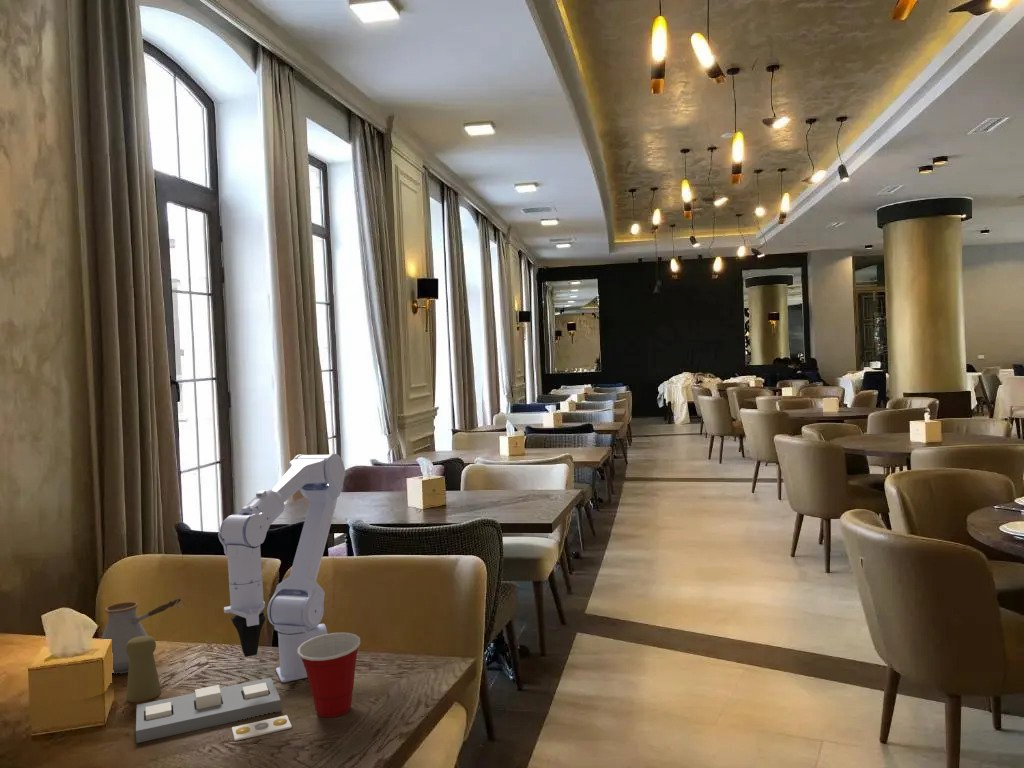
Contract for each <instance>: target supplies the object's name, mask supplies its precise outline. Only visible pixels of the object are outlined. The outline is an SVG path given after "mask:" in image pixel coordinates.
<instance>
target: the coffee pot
mask: <svg viewBox="0 0 1024 768" xmlns="http://www.w3.org/2000/svg"><path fill="white" fill-rule="evenodd" d="M180 602H182V603H183V606H182V607H179V606H178V603H180ZM139 605H140V604H139V603H138V602H136V601H128V602H127V601H125V602H119V603H115V604H112V605H108V606H106V607H104V612H105V613H106V614H107V617H108V620H107V622H106V625H105V627H104V630H103V633H102V635H101V637H100V640H101V639H112V653H113V670H114V674H113V675H118V674H117V673H120V674H126V673H128V669H129V656H128V655H127V653H126V644H127V642H128V641H129V640H131V639H132V638H135V637H139V636H149V635H148V633H147V632H146V630H145V628H144V626H143V624H142V623H141V621H144V620H145V619H147V618H149V617H151V616H154V615H157V614H159V613H162V612H164V611H166V610H167V609H168V608H172V607H174V606H175V607H176V608H177V609H181V610H182V609H183V608H184V607H185V601H184V599H181V598H176V599H174V600H170V601H168V602H167V603H163V604H161V605H159V606H157V607H156V608H154V609H152V610H150V611H148V612H147V613H145V614H141V615H140V616H137V608H138V607H139ZM115 673H116V674H115Z"/></svg>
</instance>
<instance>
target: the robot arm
mask: <svg viewBox="0 0 1024 768" xmlns="http://www.w3.org/2000/svg"><path fill="white" fill-rule="evenodd" d="M343 461H344V460H343V459H342V458H341V456H340V455H339V454H337V453H331V454H303V453H302V454H301V453H300V454H297V455H295V456H294V457H293V459H292V460H289V463H288V469H287V471H286V472H285V473H284V474H283V475H282V477H281V478H280V479H279V480H278V481H277V483H275V484H274V486H273V487H272V488H271V489H263V490H258V491H257V492H256V493H255V497H253V499H251V500H250V501H249V502H248V503H247V504H246V505H244V506H242V508H241V510H239V512H237V514H231V515H228V516H227V517H226V518H225V519H224V520H223V521H222V522H221V524H220V528H219V532H218V534H217V537H218V540H219V542H220V543H221V545H222V547H223V552H224V554H225V556H226V557H227V570H228V585H229V589H228V590H229V601H230V602H229V603H230V605H229V606H224V607H223V612H224V614H232V615H233V616H231V617H230V620H231V622H232V624H233V627H235V629H236V632H237V633H238V638H239V642H240V646H241V649H242V654H243V655H244V657H245V658H246V657H247V658H248V657H252V656H257V654H258V649H259V643H260V637H261V633H262V632H261V631H262V629H263V627H264V624H265V621H266V616H267V619H268V621H269V624H271V625H272V626H273V627H274V631H276V632H277V638H278V639H277V640H278V658H279V659H278V660H279V667H276V668H275V671H276V673H277V676H278V678H279V680H280V682H281V683H288V682H292V681H297V680H303V679H308V677H307V673H306V669H305V667H304V663H303V662H302V659H301V657H300V656H299V655H298V653H297V652H298V647H299V646H300V645H301V644H302V643H304V642H306V641H308V640H309V639H311V638H314V637H317V636H320V635H324V634H328V630H327V626H326V624H325V623H321V621H322V619H323V616H324V611H325V606H324V605H325V603H324V601H325V596H326V593H325V591H324V588H322V586H321V585H320V584H319V583H318V582H317V579H318V576H319V571H320V567H321V564H322V560H323V556H324V552H325V549H326V545H327V541H328V536H329V534H330V529H331V525H332V522H333V518H334V513H335V509H336V506H337V503H338V502H337V501H338V498H339V497H340V495H341V492H342V487H343V484H344V480H345V477H346V473H347V472H346V471H347V470H346V468H345V465H344V462H343ZM298 491H299V492H300V493H301V495H302V496H303V497H304V498H306V499H307V500H308V503H309V504H308V508H307V512H306V516H305V520H304V522H303V526H302V530H301V533H300V537H299V541H298V545H297V547H296V552H295V555H294V558H293V562H292V566H291V570H290V574H289V575H288V577H286V578H285V579H283V580H282V581H281V582H280V583H278V584H277V585H276V587H275V590H274V593H273V595H272V597H271V598H270V600H269V601H268V605H267V608H266V614H267V615H265V613H264V611H263V610H264V609H265V607H266V602H265V601H264V587H263V585H264V584H263V572H262V571H263V569H262V555H261V552H262V551H261V544H263V543H264V542H265V539H266V537H267V532H268V531H269V529H270V526H271V525H272V524H273V523H274V522H275V521H276V519H277V518H279V517H280V515H281V514H283V512H284V511H285V509H286V508H285V502H286V501H288V500H289V499H290V498H291V497H293V496H294V495H295V494H296V493H297V492H298Z"/></svg>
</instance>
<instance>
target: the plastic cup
mask: <svg viewBox="0 0 1024 768" xmlns="http://www.w3.org/2000/svg"><path fill="white" fill-rule="evenodd" d="M360 645H361V637H360V636H359V635H357V634H355V633H351V632H331V633H327V634H324V635H320V636H317V637H314V638H311V639H309V640H308V641H306V642H304V643H302V644H301V645H300V646H299V647H298V652H297V653H298V655H299V656H300V657H301V659H302V662H303V663H304V667H305V669H306V673H307V680H308V685H309V689H310V692H311V697H312V698H313V699H312V700H313V705H314V709H315V711H316V714H317V715H318V716H319V717H321V718H334V717H335V718H336V717H340V716H343V715H345V714H347V713H348V712H350V710H351V706H352V701H353V700H352V698H353V691H354V684H355V674H356V673H355V672H356V662H357V659H358V658H357V657H358V650H359V646H360Z"/></svg>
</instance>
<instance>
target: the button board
mask: <svg viewBox="0 0 1024 768" xmlns="http://www.w3.org/2000/svg"><path fill="white" fill-rule="evenodd" d="M260 683H266V685H267V688H268V691H269V694H268V695H263V696H259V697H254V698H249V699H245V700H244V699H243V687H246V686H250V685H255V684H260ZM219 688H220V692H221V705H216V706H212V707H207V708H202V709H196V700H195V692H194V693H193V692H192V693H188V694H183V695H179V696H173V697H168V698H164V699H159V700H154V701H149V702H144V703H139V704H136V710H135V711H136V712H135V713H136V714H135V716H136V718H135V721H136V722H135V738H136V744H139V743H144V742H147V741H151V740H152V741H153V740H157V739H158V740H159V739H161V738H162V739H163V738H167V737H170V736H176V735H178V734H179V735H180V734H183V733H188V732H193V731H197V730H201V729H202V730H203V729H207V728H212V727H216V726H219V725H224V724H229V723H234V722H238V720H239V721H243V720H247V718H248V719H252V718H256V717H255V716H257V717H260V716H259V715H261V716H265V715H264V714H266V715H269V714H268V713H270V714H273V712H275V713H279V712H282V701H281V697H280V695H279V692H278V690H277V688H276V685H275V683H274V681H273V679H272V677H268V678H262V679H257V680H252V681H247V682H242V683H236V684H234V685H228V686H222V687H219ZM167 702H171V711H172V715H169V716H164V717H160V718H155V719H150V720H146V707H148V706H153V705H158V704H162V703H167ZM251 717H252V718H251ZM242 719H243V720H242Z"/></svg>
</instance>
